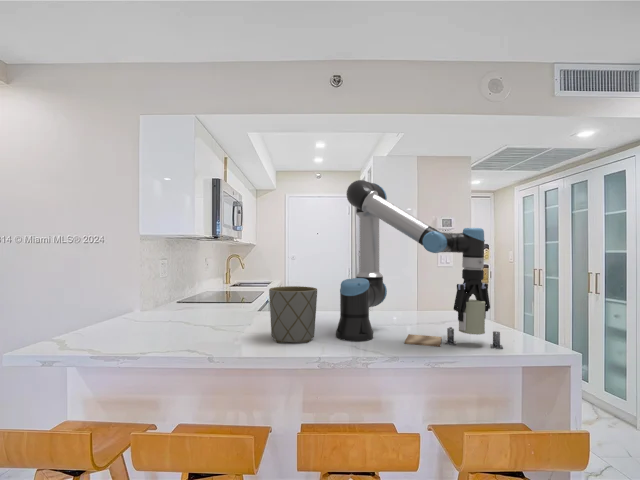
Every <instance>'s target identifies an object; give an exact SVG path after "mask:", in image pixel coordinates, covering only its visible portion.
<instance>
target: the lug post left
mask: <svg viewBox="0 0 640 480" xmlns="http://www.w3.org/2000/svg"><path fill="white" fill-rule="evenodd" d="M446 329H447V330H446V331H447V332H446V338H447V339H446V340H444V345H448V344H449V345H450V346H457V340H455V328H453V327H452V326H449V327H447V328H446Z"/></svg>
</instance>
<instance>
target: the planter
mask: <svg viewBox="0 0 640 480" xmlns="http://www.w3.org/2000/svg"><path fill="white" fill-rule="evenodd" d="M268 293H269V294H268V295H269V315H270V332H271V333H270V335H271V338H272V339H273V340H274V341H275V342H276V343H277V344H278V343H310V342H311V341H312V339H314V337H315V335H316V334H315V333H316V332H315V331H316V315H317V301H318V288H317V287H312V286H301V285H296V286H295V285H292V286H291V285H290V286H289V285H286V286H275V287H270V288H269V290H268Z"/></svg>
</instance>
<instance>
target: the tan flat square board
mask: <svg viewBox="0 0 640 480" xmlns="http://www.w3.org/2000/svg"><path fill="white" fill-rule="evenodd" d="M442 338H443V336H435V335H425V334H424V335H422V334H412V333H411V334H408V335H407V336H406V338H405V340H404V344H406V345H416V346H417V345H418V346H428V347H429V346H430V347H437V348H438V347H439V348H440V347H441V345H442V340H443V339H442Z"/></svg>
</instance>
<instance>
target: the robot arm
mask: <svg viewBox="0 0 640 480" xmlns="http://www.w3.org/2000/svg"><path fill="white" fill-rule="evenodd" d="M346 189H347V190H346V198H347V201H348V203H349V204H350V205H351V206H353V207H355V214H356V216H358V218H359V272H358V273H357V274H356V275H355V277H352V278H347V279H344V280H342V281H341V282H340V289H339V293H340V294H339V295H340V296H339V299H340V301H339V302H340V304H339V306H340V309H339V311H340V313H339V316H340V317H339V321H338V324H337V327H336V330H335V337H336V339H339V340H342V341H347V342H364V341H370V340H372V339H373V338H374V331H373V327H372V324H371V320H370V308H372V307H376V306H379V305H380V304H381V303H383V302H384V301H385V300H386V298H387V292H388V289H387V286H386V284H385V282H384V276H383V275H382V274H381V272H380V220H381V221H383V222H384V223H386V224H387V225H390V226H391V227H393V229H395V230H397V231H399V232H401V233H402V234H404V235H405V236H406V237H408V238H409V239H412V240H414V241H415V242H417V243H418V244H420V245H421V246H423V248H424V250H426V251H427V252H429V253H432V254H440V253H458V254H461V253H462V264H461V266H462V270H461V271H462V273H461V274H462V275H461V276H462V277H461V278H462V279H463V282H462V283H456V294H455V299H454V303H453V311H455V312H457V321H458V330H459V329H460V330H463V331H466V313H464V311H465V309H466V302H468V301H469V299H471V298H470V297H472V295H474V297H475V300H478V301H485V319H486V317H487V316H486V315H487V314H486V313H487V312H489V310H490V309H491V302H490V295H489V291H488V289H489V283H484V282H482V281H483V280H484V278H485V277H484V276H485V274H484V272H485V271H484V270H483V269H484V266H485V265H484V264H485V263H484V262H485V260H484V259H485V231H484V229H483V228H482V227H464V228H463V230H462V232H457V233H456V232H454V233H453V232H441V231H440V230H438V229H436V228H434V227H432V226H431V225H429V224H427V223H426V222H424V221H422V220H420V219H419V218H417V217H416V216H414V215H412V214H410V213H409V212H407V211H405V210H403V209H402V208H400V206H399V207H398V206H397V205H395V204H394V203H392V202H390V201H389V200H387V198H388V197H387V193H386V191H385V190H384V188H383V187H382V186H380V185H379V184H377V183H374V182H370V181H367V180H365V179H358V180H355V181H353V182H352V183H351V184H349V186H348V187H347V188H346ZM461 308H462V309H461Z"/></svg>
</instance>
